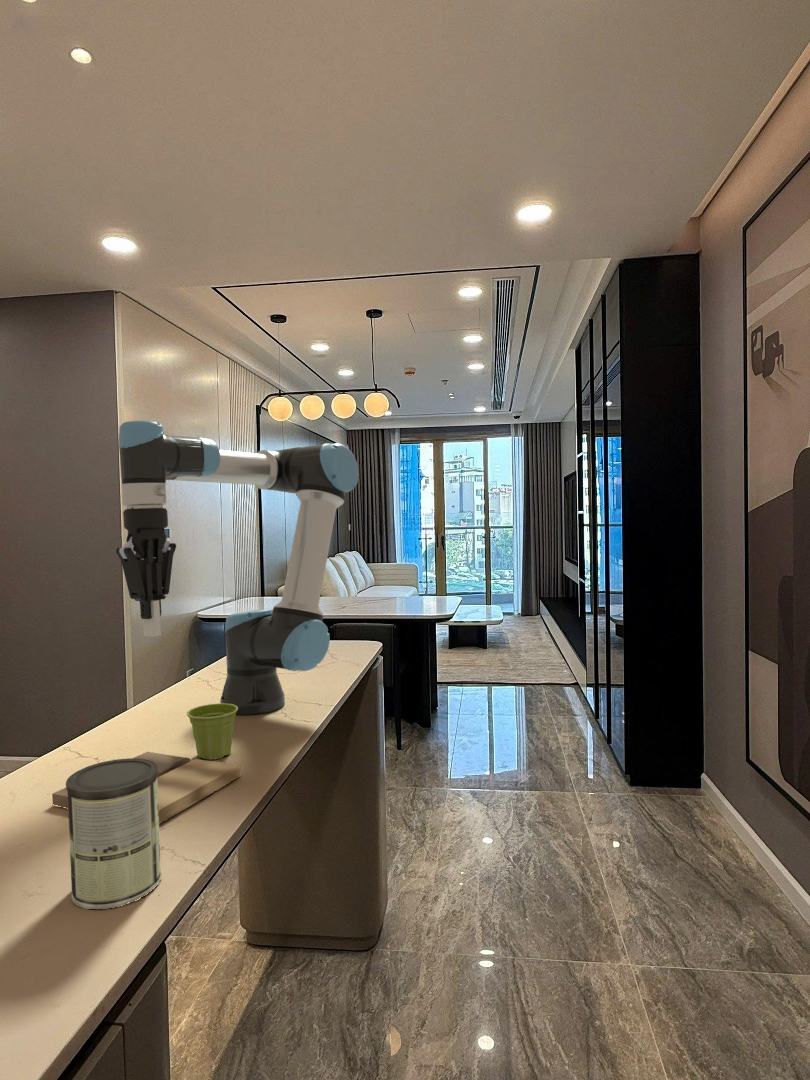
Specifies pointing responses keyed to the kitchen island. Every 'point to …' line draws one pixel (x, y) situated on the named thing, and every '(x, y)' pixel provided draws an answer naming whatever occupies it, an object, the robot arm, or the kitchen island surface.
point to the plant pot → (213, 729)
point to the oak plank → (192, 784)
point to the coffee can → (113, 832)
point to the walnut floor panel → (162, 760)
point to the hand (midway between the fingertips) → (152, 635)
